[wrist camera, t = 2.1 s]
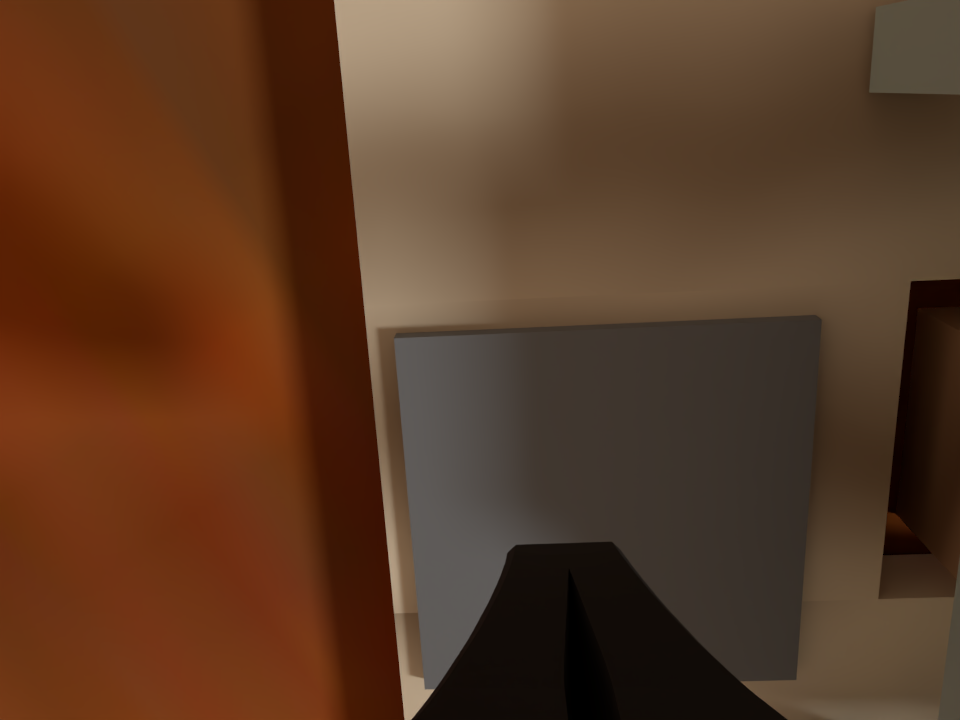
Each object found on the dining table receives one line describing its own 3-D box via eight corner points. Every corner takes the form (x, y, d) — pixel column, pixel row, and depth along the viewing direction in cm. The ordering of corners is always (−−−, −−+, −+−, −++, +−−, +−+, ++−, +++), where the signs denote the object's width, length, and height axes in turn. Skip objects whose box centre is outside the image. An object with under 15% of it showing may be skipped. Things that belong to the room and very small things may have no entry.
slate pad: (791, 669, 16) (796, 680, 16) (426, 678, 17) (424, 689, 16) (815, 315, 14) (821, 320, 14) (396, 333, 14) (393, 338, 14)
